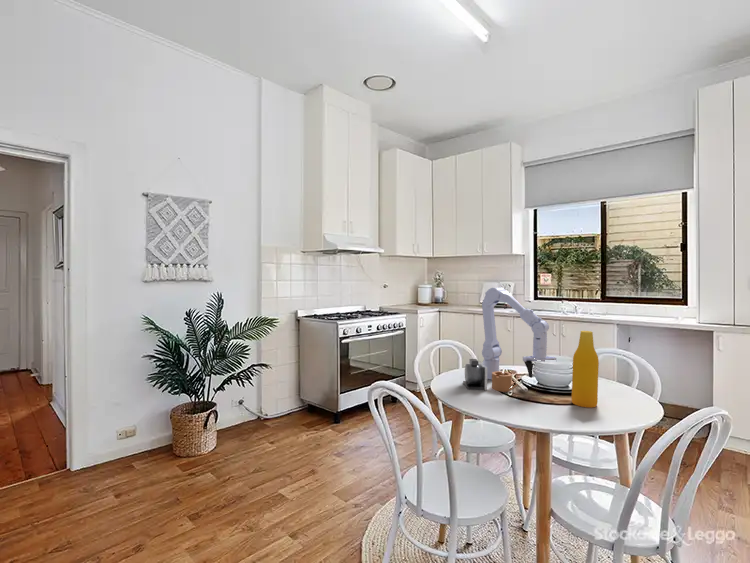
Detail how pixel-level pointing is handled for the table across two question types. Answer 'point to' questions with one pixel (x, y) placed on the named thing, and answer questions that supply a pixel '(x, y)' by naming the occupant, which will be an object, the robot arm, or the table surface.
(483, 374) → the motor
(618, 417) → the table surface
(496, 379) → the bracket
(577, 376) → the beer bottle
